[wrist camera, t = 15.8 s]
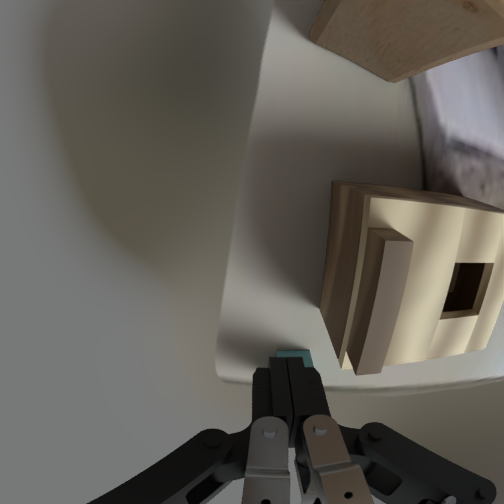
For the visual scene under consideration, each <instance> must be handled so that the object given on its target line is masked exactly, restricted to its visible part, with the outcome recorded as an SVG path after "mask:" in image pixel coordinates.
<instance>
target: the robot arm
mask: <svg viewBox="0 0 504 504" xmlns="http://www.w3.org/2000/svg"><path fill="white" fill-rule="evenodd" d="M288 448H295V454H296V456H295V459H294V464H295V469H296V474H297V479H298V484H299V489H300V493H301V504H374V501H373V499H372V496H371V494H372V495H373V496H375V497H376V498H378V499H379V500H381V501H383V502H384V503H386V504H492V502H493V501H494V500H495V497H496V487H495V485H494V484H493V483H492V482H491V481H490V480H488V479H485V478H483V477H481V476H479V475H477V474H475V473H473V472H471V471H468V470H466V469H464V468H462V467H460V466H458V465H456V464H454V463H452V462H451V461H448V460H447V459H445V458H443V457H441V456H439V455H437V454H435V453H433V452H432V451H430V450H428V449H426V448H424V447H422V446H420V445H419V444H417V443H415V442H413V441H412V440H410V439H408V438H406V437H405V436H403V435H401V434H399V433H398V432H396V431H394V430H392V429H391V428H389V427H387V426H386V425H384V424H382V423H377V422H372V423H368V424H365V425H364V426H363V427H362V428H361V429H355V428H348V427H344V426H341V425H339V424H337V422H336V421H335V420H334V419H333V418H332V417H331V415H330V411H329V407H328V404H327V400H326V395H325V392H324V388H323V384H322V380H321V376H320V374H319V373H318V371H317V370H316V369H315V368H314V367H305V366H304V361H303V357H302V356H297V357H286V358H285V357H269V362H268V368H257V369H256V371H255V373H254V374H253V384H252V422H251V424H250V425H249V426H248V427H247V428H246V429H244V430H242V431H240V432H237V433H233V434H227V433H226V432H224V431H222V430H219V429H206V430H203V431H201V432H200V433H198V434H197V435H195V436H194V437H193V438H191V439H190V440H189V441H187V442H186V443H184V444H183V445H181V446H180V447H179V448H177V449H176V450H174V451H173V452H171V453H170V454H169V455H167V456H166V457H164V458H163V459H161V460H160V461H158V462H157V463H155V464H154V465H152V466H151V467H149V468H148V469H146V470H144V471H143V472H141V473H139V474H138V475H137V476H135V477H133V478H131V479H130V480H128V481H126V482H125V483H123V484H121V485H120V486H118V487H117V488H115V489H113V490H111V491H109V492H108V493H106V494H104V495H102V496H100V497H99V498H97V499H95V500H93V501H91V502H89V503H87V504H206V503H207V502H209V501H210V500H211V499H212V498H214V497H215V496H216V495H217V494H218V493H219V492H221V491H222V490H223V489H224V488H225V487H226V486H228V485H229V484H230V483H231V482H232V481H233V480H237V479H241V478H244V486H243V495H242V502H241V504H290V472H289V470H288Z"/></svg>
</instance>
